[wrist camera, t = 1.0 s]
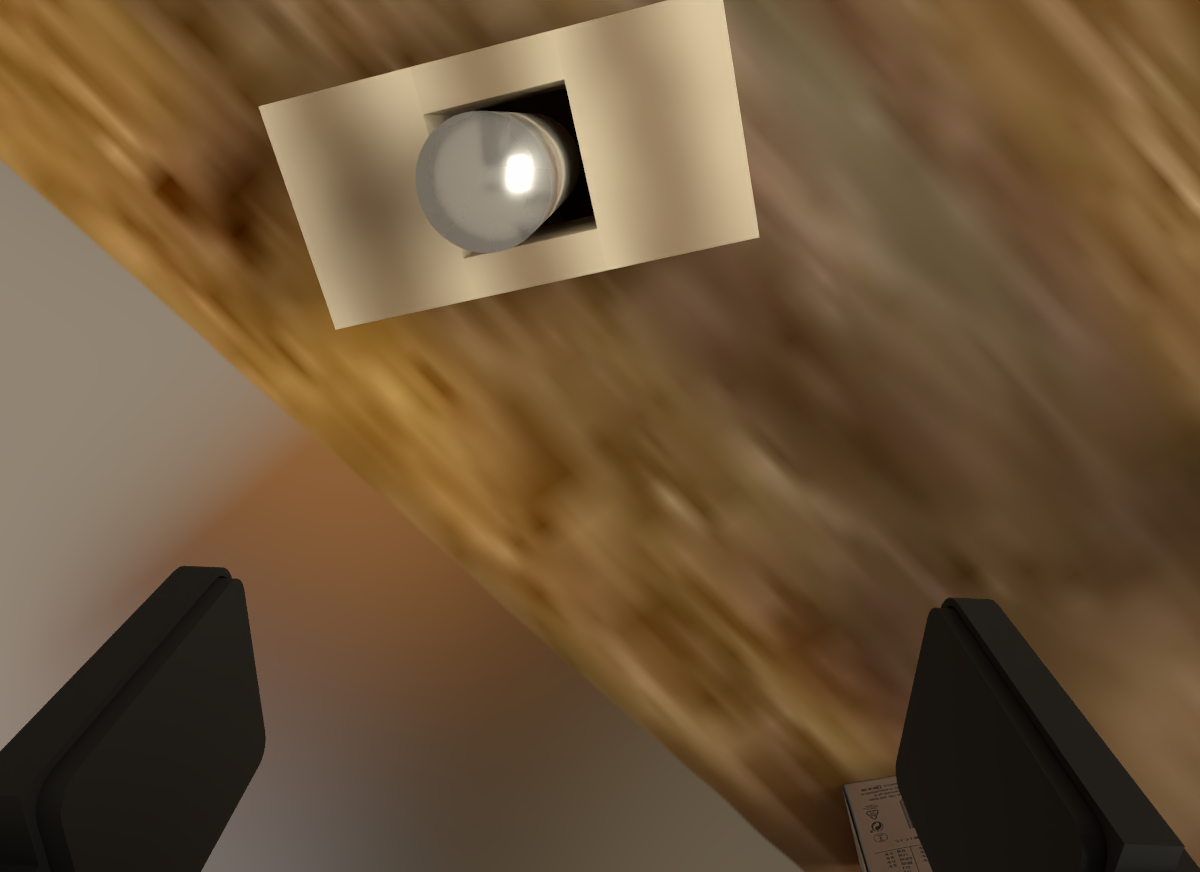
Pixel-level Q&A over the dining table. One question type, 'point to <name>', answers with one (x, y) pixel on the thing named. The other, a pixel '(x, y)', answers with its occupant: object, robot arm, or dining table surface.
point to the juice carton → (883, 828)
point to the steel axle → (495, 177)
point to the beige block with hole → (606, 140)
